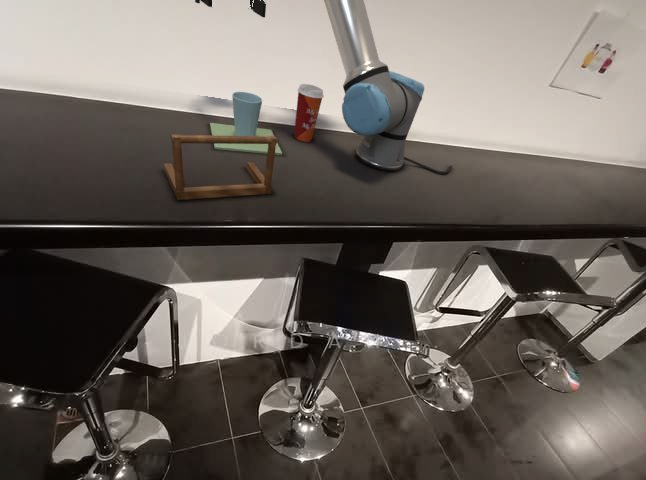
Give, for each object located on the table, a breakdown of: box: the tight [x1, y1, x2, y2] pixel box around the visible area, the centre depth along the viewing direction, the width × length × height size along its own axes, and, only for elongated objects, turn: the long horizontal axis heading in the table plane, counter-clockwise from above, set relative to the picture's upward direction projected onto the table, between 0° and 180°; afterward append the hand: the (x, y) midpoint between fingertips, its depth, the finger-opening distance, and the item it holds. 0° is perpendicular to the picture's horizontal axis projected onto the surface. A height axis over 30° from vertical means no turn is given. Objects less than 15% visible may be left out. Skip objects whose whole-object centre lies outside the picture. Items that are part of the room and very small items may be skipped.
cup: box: [231, 91, 263, 136], centre depth 93 cm, size 8×8×10 cm
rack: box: [163, 133, 278, 201], centre depth 73 cm, size 21×12×13 cm, turn 119°
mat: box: [209, 122, 283, 156], centre depth 97 cm, size 18×16×1 cm
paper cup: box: [293, 83, 325, 143], centre depth 102 cm, size 8×8×14 cm
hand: (238, 5), depth 83 cm, fingers open, 13 cm apart
